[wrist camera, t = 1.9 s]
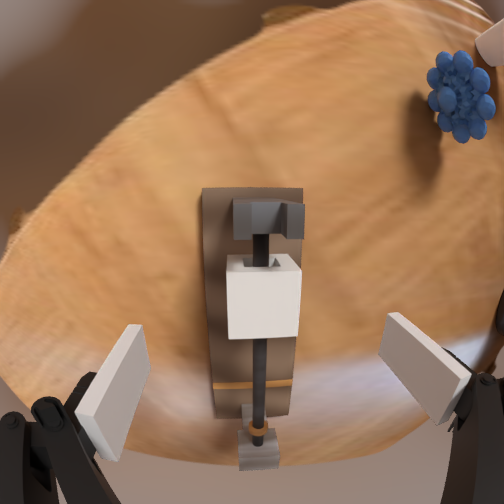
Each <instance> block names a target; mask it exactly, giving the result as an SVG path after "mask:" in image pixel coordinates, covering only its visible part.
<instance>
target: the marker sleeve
mask: <svg viewBox="0 0 504 504" xmlns="http://www.w3.org/2000/svg"><path fill="white" fill-rule="evenodd" d="M226 280H227V311H228V336H229V339H256V338H277V337H293V336H298V326H299V312H300V298H301V281H302V270H301V269H300V268H299V267H298V265H297V264H296V263H295V262H294V261H293V260H292V258H291V257H290V256H289V255H288V254H269V267H253V254H241V255H227V269H226Z"/></svg>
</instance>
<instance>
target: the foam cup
mask: <svg viewBox="0 0 504 504" xmlns="http://www.w3.org/2000/svg"><path fill="white" fill-rule="evenodd" d="M475 44H476V47H477V49H478V52H479V53H480V55H481V57H482V58H483V59H484V61H485V62H486V63H487V64H488V65H490V66H491V67H493V66H503V65H504V19H502V20H501V21H499V22H498V23H497V24H495V25H494V26H492V27H491V28H489V29H488V30H487V31H485V32H484V33H482V34H481V35H480V36H478V37H477V38H476V40H475Z"/></svg>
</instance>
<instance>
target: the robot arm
mask: <svg viewBox="0 0 504 504" xmlns="http://www.w3.org/2000/svg"><path fill="white" fill-rule="evenodd" d="M496 327H497V330H498V332H499V333H501V334H502V335H504V292H503V295H502V297H501V300H500V304H499V308H498V312H497V319H496ZM378 355H379V356H380V357H381V358H382V359H383V360H384V362H385V363H386V364H387V365H388V366H389V368H390V369H391V370H392V371H393V372H394V374H395V375H396V376H397V377H398V378H399V380H400V381H401V382H402V383H403V385H404V386H405V387H406V388H407V389H408V391H409V392H410V393H411V394H412V396H413V397H414V398H415V399H416V400H417V402H418V403H419V404H420V405H421V407H422V408H423V409H424V410H425V412H426V413H427V414H428V415H429V417H430V418H431V419H432V420H433V421H434V423H435V424H436V425H440V424H442V423H444V422H446V421H448V420H449V418H450V416H451V414H452V413H453V411H455V413H456V414H457V415H456V417H455V419H454V420H453V422H452V424H451V425H450V427H449V429H448V432H450V430H451V429H452V428H453V427H454V429H453V431H452V432H453V438H452V447H451V454H450V461H449V467H448V472H447V477H446V482H445V487H444V491H443V496H442V499H441V503H440V504H504V378H500V379H496V378H495V377H494V376H492V375H491V374H487V373H481V374H478V375H477V374H476V373H475V372H474V371H473V370H471V369H470V368H469V367H468V366H467V365H466V364H464V363H463V362H461V360H460V359H459V358H456V356H455V355H454V354H453V353H452V352H450V351H449V350H446V349H444V348H442V347H440V346H439V345H438V344H436V343H435V342H434V341H433V340H432V339H430V338H429V337H428V336H427V335H426V334H424V333H423V332H422V331H421V330H420V329H418V328H417V327H416V326H415V325H413V324H412V323H411V322H410V321H409V320H407V319H406V318H405V317H404V316H402V315H401V314H400V313H399V312H395V313H388V314H387V318H386V323H385V328H384V332H383V337H382V341H381V345H380V349H379V353H378ZM150 370H151V366H150V361H149V357H148V352H147V347H146V342H145V337H144V332H143V326H142V325H133V324H128V326H127V327H126V329H125V331H124V332H123V334H122V335H121V337H120V338H119V340H118V341H117V343H116V344H115V346H114V347H113V349H112V351H111V352H110V354H109V355H108V357H107V358H106V360H105V362H104V363H103V365H102V366H101V368H100V370H99V371H98V373H95V372H89V373H87V374H86V375H84V376H83V377H82V378H81V379H80V381H79V382H78V384H77V387H75V388H74V390H73V393H71V395H70V396H69V398H68V399H67V401H66V403H65V404H64V406H63V405H62V403H61V402H60V400H59V399H57V398H55V397H50V396H48V397H43V398H40V399H38V400H37V401H36V402H34V404H33V405H32V407H31V413H32V415H33V416H34V418H35V420H36V421H37V422H27V421H26V420H25V418H24V416H23V415H22V414H20V413H19V412H14V411H13V412H9V413H7V414H5V415H4V416H3V417H2V418H1V420H0V504H59V499H58V492H57V485H56V478H57V480H58V483H59V485H60V488H61V490H62V492H63V494H64V497H65V499H66V502H67V504H121V503H120V501H119V500H118V498H117V497H116V495H115V494H114V492H113V490H112V489H111V487H110V485H109V484H108V482H107V480H106V479H105V477H104V475H103V474H102V471H101V470H100V468H99V466H98V464H97V462H96V461H95V459H94V458H93V457H94V454H95V452H96V451H97V452H98V454H99V456H100V457H101V458H102V459H106V460H111V461H115V462H119V459H120V456H121V452H122V450H123V447H124V444H125V440H126V437H127V434H128V431H129V428H130V425H131V422H132V420H133V417H134V414H135V411H136V408H137V405H138V402H139V400H140V397H141V394H142V391H143V388H144V386H145V383H146V380H147V378H148V375H149V372H150ZM55 475H56V476H55Z"/></svg>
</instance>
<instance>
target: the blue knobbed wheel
mask: <svg viewBox="0 0 504 504" xmlns="http://www.w3.org/2000/svg"><path fill="white" fill-rule="evenodd" d="M436 66H437V68H432V69H430V70H429V71H428V73H427V82H428V84H429V86H430V87H431V88H432V89H434V90H433V91H431V92H430V93H429V95H428V104H429V106H430V108H431V109H432V110H433V111H435V112H440V113H439V114H438V117H437V123H438V126H439V127H440V129H441V130H443V131H444V132H450V131H452V134H453V137H454V139H455V140H456V141H457V142H459V143H463V144H464V143H466V142H468V140H469V138H470V136H472V137H473V138H474V139H478V140H480V139H482V138H484V136H485V134H486V132H487V125H486V123H485V120H490V119H492V118H493V116H494V114H495V111H496V106H495V103H494V101H493V99H492V98H491V97H490V96H489V95H487V94H484V93H486V92H488V90H489V88H490V78H489V76H488V74H487V72H486V71H485V70H484V69H482V68H479V67H476V68H474V69H473V60H472V58H471V57H470V55H469V54H468V53H466V52H465V51H461V50H459V51H458V52H456V53H455V54H454V56H453V57H452V55H450V54H449V53H448V52H441V53H439V54H438V55H437V57H436Z"/></svg>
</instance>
